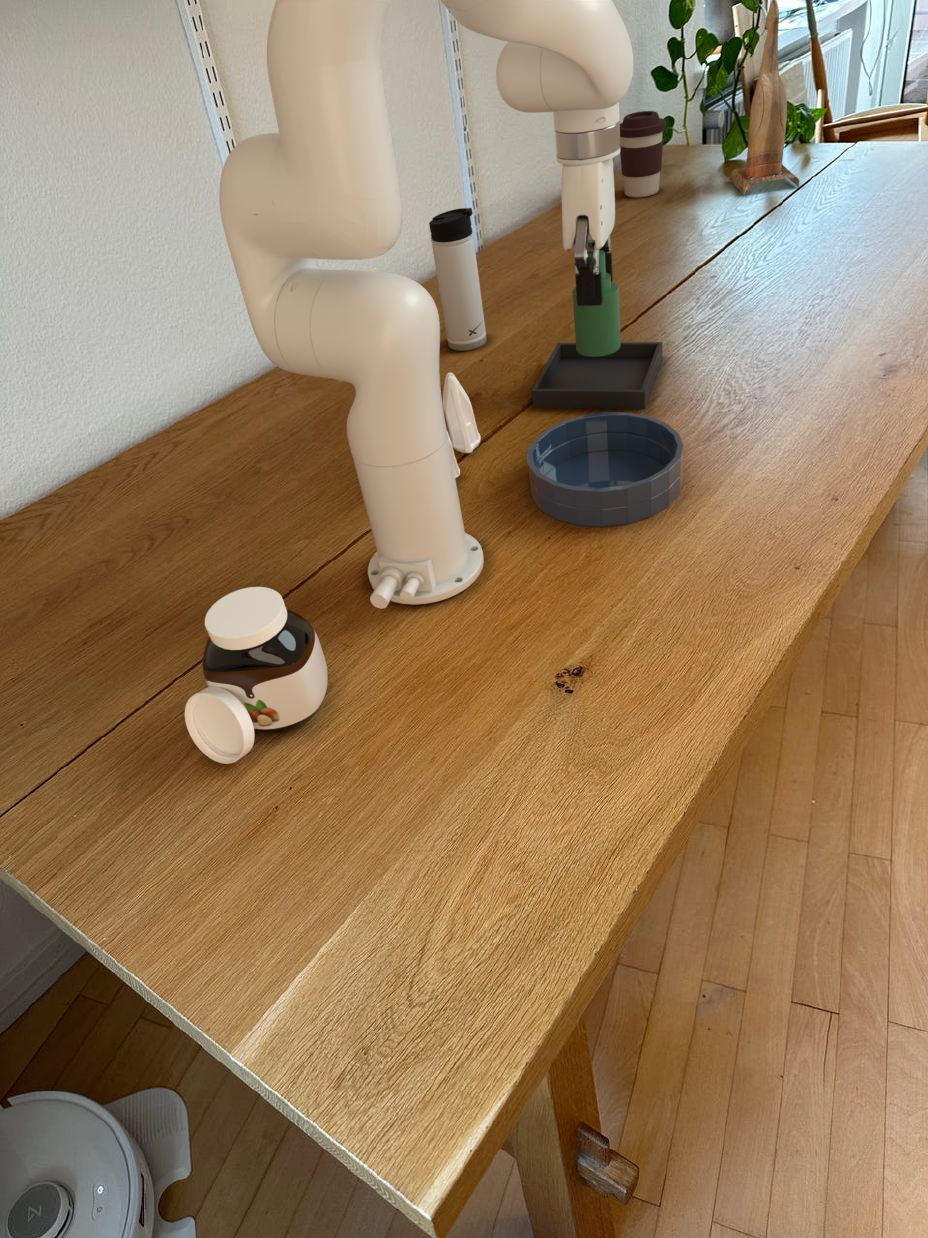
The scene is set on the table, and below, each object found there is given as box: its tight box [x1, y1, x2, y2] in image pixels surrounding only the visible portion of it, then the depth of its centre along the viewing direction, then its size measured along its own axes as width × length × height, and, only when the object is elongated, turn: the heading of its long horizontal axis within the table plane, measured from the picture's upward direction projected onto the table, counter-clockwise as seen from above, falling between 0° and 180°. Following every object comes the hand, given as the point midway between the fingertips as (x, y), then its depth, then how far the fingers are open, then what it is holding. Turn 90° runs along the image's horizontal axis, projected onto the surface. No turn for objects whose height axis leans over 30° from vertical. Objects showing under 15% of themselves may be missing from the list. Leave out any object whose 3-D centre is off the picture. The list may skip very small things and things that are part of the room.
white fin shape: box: [442, 372, 482, 479], centre depth 107 cm, size 12×4×11 cm, turn 156°
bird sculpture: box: [729, 0, 800, 196], centre depth 169 cm, size 11×12×32 cm
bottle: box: [571, 250, 621, 357], centre depth 114 cm, size 6×6×12 cm
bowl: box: [526, 411, 685, 528], centre depth 100 cm, size 17×17×5 cm
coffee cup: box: [619, 110, 667, 199], centre depth 183 cm, size 10×10×15 cm
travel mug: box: [428, 207, 487, 352], centre depth 133 cm, size 6×7×20 cm
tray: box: [531, 341, 663, 410], centre depth 121 cm, size 15×15×3 cm
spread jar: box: [184, 586, 329, 765], centre depth 76 cm, size 12×11×12 cm
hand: (595, 292), depth 114 cm, fingers closed on bottle, 6 cm apart
